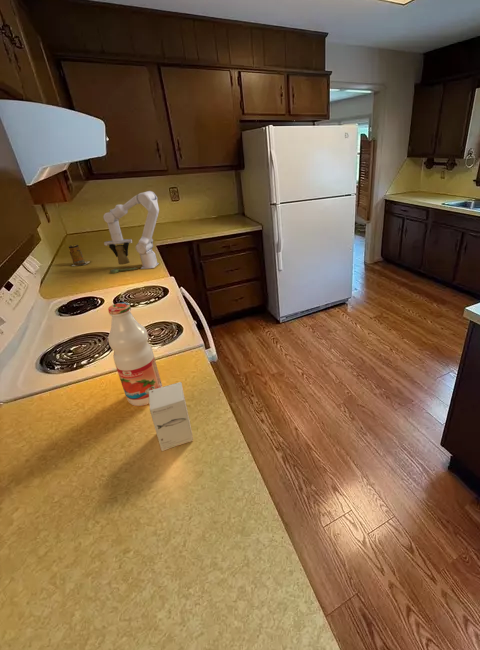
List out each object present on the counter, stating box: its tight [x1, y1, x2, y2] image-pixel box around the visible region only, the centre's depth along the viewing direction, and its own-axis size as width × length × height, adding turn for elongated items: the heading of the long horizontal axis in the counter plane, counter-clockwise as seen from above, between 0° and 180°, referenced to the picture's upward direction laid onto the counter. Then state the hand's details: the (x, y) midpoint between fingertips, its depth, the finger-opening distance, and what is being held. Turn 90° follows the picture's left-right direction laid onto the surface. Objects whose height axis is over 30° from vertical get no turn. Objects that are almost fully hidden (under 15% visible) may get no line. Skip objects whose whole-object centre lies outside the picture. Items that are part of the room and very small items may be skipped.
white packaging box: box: [148, 381, 194, 452], centre depth 76 cm, size 7×7×13 cm
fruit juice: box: [107, 301, 163, 407], centre depth 87 cm, size 9×9×28 cm
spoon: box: [109, 267, 139, 274], centre depth 193 cm, size 15×4×1 cm, turn 107°
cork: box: [115, 244, 130, 266], centre depth 195 cm, size 6×6×11 cm
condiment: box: [68, 244, 91, 267], centre depth 206 cm, size 7×8×12 cm
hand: (122, 255), depth 196 cm, fingers closed on cork, 5 cm apart
